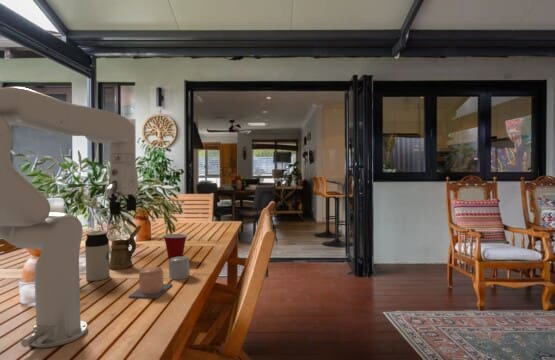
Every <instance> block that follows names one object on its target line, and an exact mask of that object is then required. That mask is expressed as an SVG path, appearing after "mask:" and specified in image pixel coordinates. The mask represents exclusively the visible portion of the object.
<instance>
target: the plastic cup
mask: <svg viewBox="0 0 555 360" xmlns="http://www.w3.org/2000/svg"><path fill="white" fill-rule="evenodd" d="M162 237H163V238H164V242H165V247H166V252H167V253H166V254H167V256H168V257H167V258H168V262H169V261H170V259H171V258H173V257H180V256H184V251H185V247H186V245H185V244H186V240H187V237H188V234H184V233H169V234H164V235H162Z"/></svg>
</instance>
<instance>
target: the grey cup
mask: <svg viewBox="0 0 555 360" xmlns="http://www.w3.org/2000/svg"><path fill="white" fill-rule="evenodd" d="M168 270H169V271H168V272H169V273H168V274H169V275H168V277H169V279H171V280H183V279H187V278H188V277H189V276H190V274H191V272H190V259H189V257H187V256H184V255H183V256H180V257H173V258H171V259H170V261H169V260H168Z"/></svg>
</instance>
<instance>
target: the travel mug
mask: <svg viewBox="0 0 555 360" xmlns="http://www.w3.org/2000/svg"><path fill="white" fill-rule="evenodd" d="M107 234H108V230H104V229H101V230H91V231H88V232H87V231H86V233H85V235H86V239H85V241H84V243H85V244H84V247H85V249H84V251H85V279H86V280H87V281H89V282H98V281H103V280H105V279H108V278H109V277H110V269H109V264H110V250H109V249H110V246H109V245H110V244H109V243H110V242H109V238H108V235H107Z"/></svg>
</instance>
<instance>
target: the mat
mask: <svg viewBox="0 0 555 360" xmlns="http://www.w3.org/2000/svg"><path fill="white" fill-rule="evenodd" d="M172 287H173V284H172V283H163V289H162V290H161V291H160V292H157V293H153V294H142V293H141V292H140V287H139V288H137V289H136V290H135V291H134V292H132V293H131V294H129V296H128V298H130V299H159V298H160V297H161V296H163V295H164V294H165V293H166V292H167V291H168V290H169V289H170V288H172Z"/></svg>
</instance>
